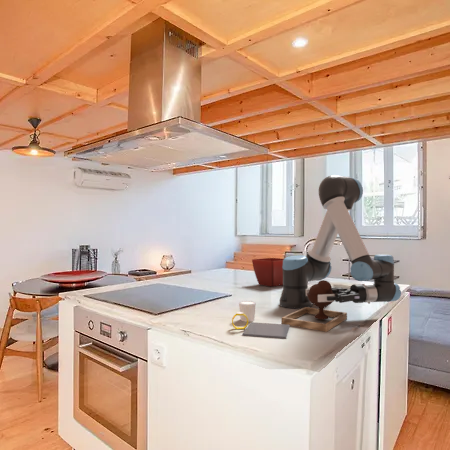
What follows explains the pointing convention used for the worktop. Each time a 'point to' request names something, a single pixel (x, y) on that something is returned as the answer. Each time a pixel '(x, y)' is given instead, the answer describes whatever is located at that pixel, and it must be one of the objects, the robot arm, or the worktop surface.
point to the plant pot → (269, 271)
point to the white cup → (247, 310)
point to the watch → (240, 315)
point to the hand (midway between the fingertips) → (311, 295)
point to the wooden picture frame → (292, 321)
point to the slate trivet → (267, 330)
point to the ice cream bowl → (320, 289)
